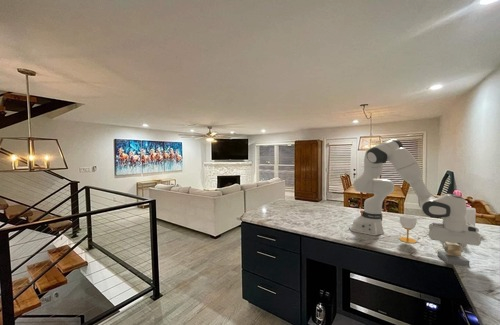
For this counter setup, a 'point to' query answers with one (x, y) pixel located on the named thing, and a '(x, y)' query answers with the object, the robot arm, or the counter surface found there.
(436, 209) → the robot arm
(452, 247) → the maple cube
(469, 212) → the cup
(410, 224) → the cup
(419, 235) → the counter surface
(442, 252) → the plate
